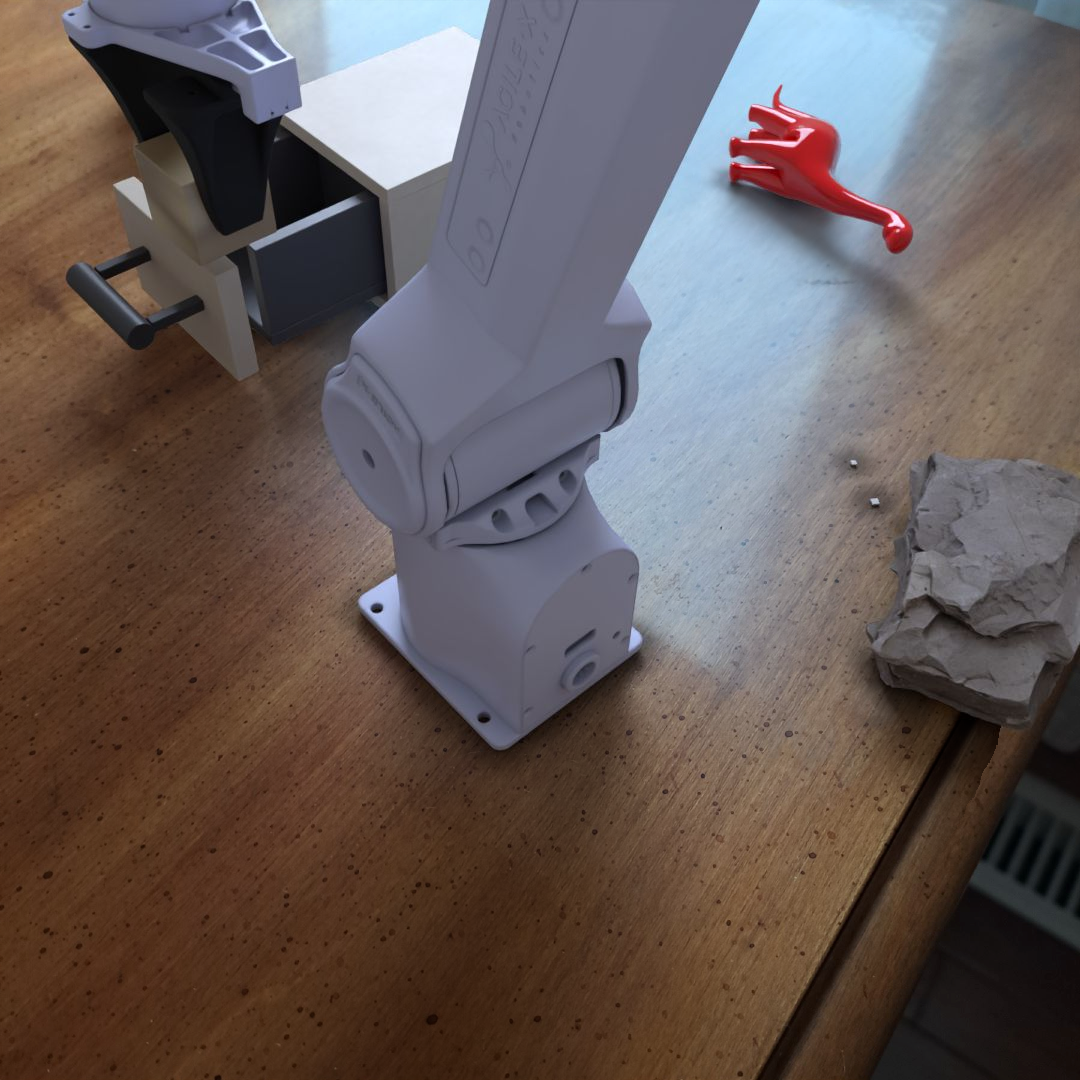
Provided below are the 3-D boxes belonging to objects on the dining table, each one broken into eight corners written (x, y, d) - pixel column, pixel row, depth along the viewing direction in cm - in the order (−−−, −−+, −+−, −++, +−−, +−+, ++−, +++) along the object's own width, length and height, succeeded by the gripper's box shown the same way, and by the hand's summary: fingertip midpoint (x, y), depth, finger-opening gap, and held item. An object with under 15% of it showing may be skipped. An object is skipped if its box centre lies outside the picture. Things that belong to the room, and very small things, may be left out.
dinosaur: (777, 113, 78) (971, 140, 73) (688, 242, 69) (901, 282, 65) (779, 55, 75) (981, 79, 70) (687, 182, 66) (909, 220, 62)
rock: (1080, 764, 46) (1120, 712, 43) (848, 692, 48) (870, 637, 45) (1105, 513, 54) (1140, 454, 51) (904, 459, 56) (927, 400, 53)
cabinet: (398, 324, 63) (387, 190, 56) (285, 232, 68) (263, 99, 61) (575, 233, 68) (582, 102, 62) (458, 154, 73) (454, 25, 67)
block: (278, 232, 53) (264, 152, 50) (200, 267, 52) (181, 187, 48) (229, 192, 55) (213, 113, 52) (152, 225, 53) (131, 145, 50)
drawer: (164, 419, 56) (132, 314, 51) (69, 321, 61) (32, 216, 56) (425, 287, 63) (419, 183, 58) (323, 208, 68) (309, 105, 63)
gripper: (-60, -168, 44) (48, 161, 54) (142, -27, 37) (221, 319, 47) (114, -210, 47) (185, 109, 57) (330, -88, 40) (366, 249, 50)
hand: (211, 200), depth 52 cm, fingers closed on block, 4 cm apart
